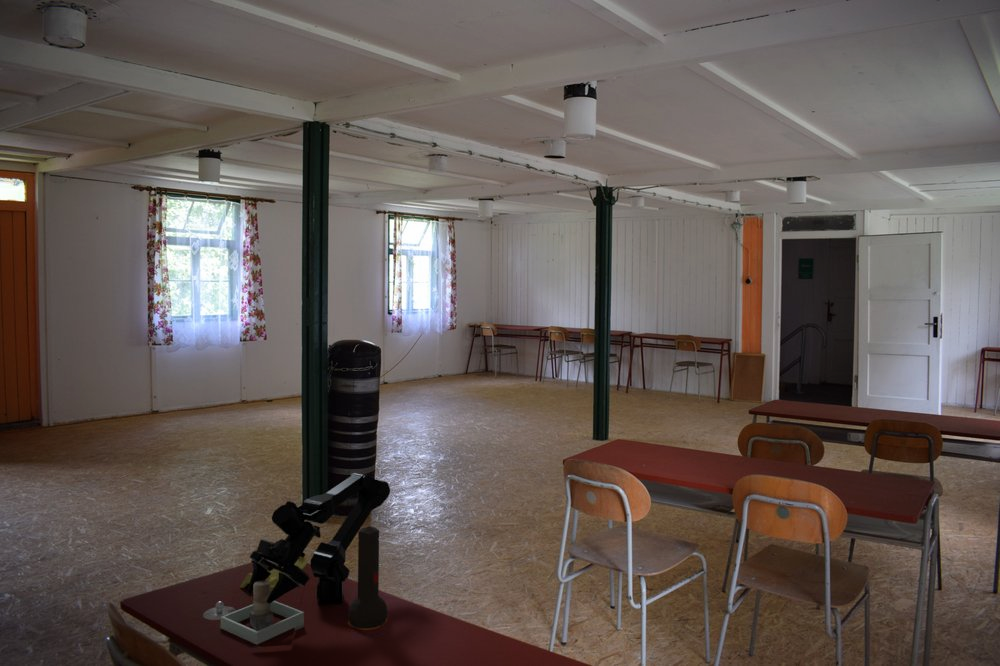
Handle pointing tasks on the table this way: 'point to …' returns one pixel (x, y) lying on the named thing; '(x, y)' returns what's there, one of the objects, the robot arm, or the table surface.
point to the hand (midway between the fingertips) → (257, 597)
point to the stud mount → (218, 611)
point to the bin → (293, 620)
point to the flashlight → (368, 583)
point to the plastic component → (274, 574)
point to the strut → (261, 606)
